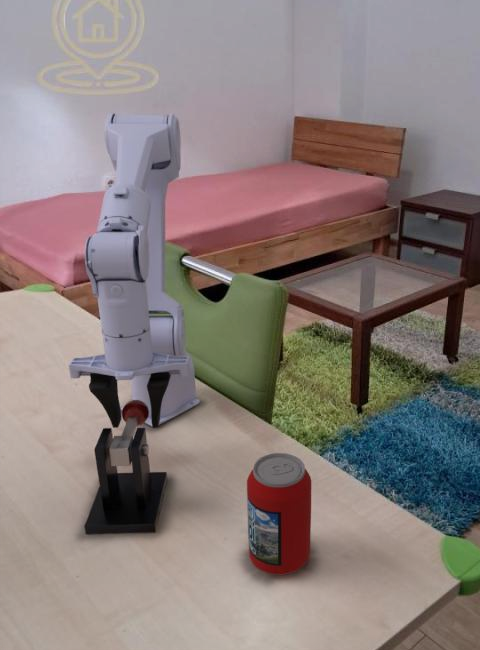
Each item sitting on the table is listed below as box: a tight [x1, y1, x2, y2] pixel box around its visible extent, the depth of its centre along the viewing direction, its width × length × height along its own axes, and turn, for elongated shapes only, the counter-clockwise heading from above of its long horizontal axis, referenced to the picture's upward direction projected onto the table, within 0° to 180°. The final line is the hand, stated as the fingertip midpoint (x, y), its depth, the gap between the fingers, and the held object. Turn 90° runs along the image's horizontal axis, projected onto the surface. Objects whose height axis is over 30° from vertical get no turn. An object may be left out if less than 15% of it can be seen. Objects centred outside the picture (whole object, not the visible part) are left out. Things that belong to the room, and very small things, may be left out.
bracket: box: [84, 427, 168, 535], centre depth 76 cm, size 10×8×10 cm
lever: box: [109, 399, 149, 467], centre depth 78 cm, size 12×3×3 cm, turn 3°
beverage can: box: [246, 452, 312, 576], centre depth 67 cm, size 7×7×12 cm
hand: (136, 423), depth 83 cm, fingers open, 4 cm apart
